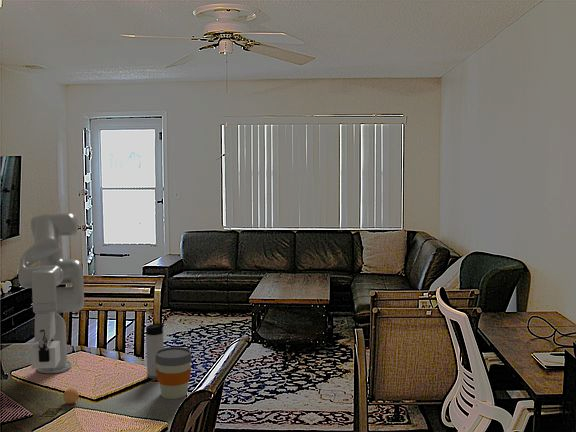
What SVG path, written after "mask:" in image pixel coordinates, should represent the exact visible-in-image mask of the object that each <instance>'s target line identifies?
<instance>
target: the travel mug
mask: <svg viewBox="0 0 576 432" xmlns="http://www.w3.org/2000/svg"><path fill="white" fill-rule="evenodd" d="M164 327H165V324H164V323H153V324H149V325H148V326H146V327H145V328H146V330H145V332H146V333H145V335H146V336H145V339H146V342H145V343H146V377H147V376H148V377H147V378H149V379H152V380H158V378H157V372H156V368H157V364H156V362H155V358H156V352H157V351H158V350H160V349H163V348H165V346H164V343H165V342H164Z"/></svg>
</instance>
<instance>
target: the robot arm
mask: <svg viewBox="0 0 576 432" xmlns="http://www.w3.org/2000/svg"><path fill="white" fill-rule="evenodd" d="M30 228H31V229H30V230H31V234H32V236H33V238H34V239H33V241H34V243H33V244H32V245H31V246H30V247H28V249H26V251H24V253H23V254H22V256H21V257H20V259H19V264H18V265H19V266H18V284H19V285H20V286H21V287H22V288H24V289H31V291H32V294H31V295H32V311H33V313H34V314H35V315H34V342H35V343H37V342H38V341H39V362H49V349H48V342H49V341H60V361H59V363H58V365H57V366H56V368H36V370H37V372H38V373H41V374H46V375H47V374H58V373H59V374H60V373H63V372H66V371H68V370H70V369H71V368H72V362H70V361H69V360H68V353H67V352H68V350H67V349H68V348H67V347H68V346H67V345H68V344H67V327H66V321H65V319H64V318H63V317H62V316H61V315H60V314H59V313H70V312H71V313H72V312H79V311H81V310H83V308H84V305H85V291H84V289H85V288H84V287H85V286H84V268H83V265H82V263H81V261H80V260H78V259H71V258H70V259H63V248H62V245H61V244H60V237H64V236H75V235H76V234H77V233H78V231H79V219H78V217H77V215H76V214H75V213H71V212H69V213H68V212H59V213H58V212H57V213H55V212H53V213H44V214H39V215H36V216H33V217H32V218H31V220H30ZM38 262H39V264H38V265H33V264H36V263H38ZM60 285H70V286H63V287H62V286H60ZM58 286H60V287H58ZM44 343H46V346H45V344H44Z"/></svg>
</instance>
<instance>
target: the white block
mask: <svg viewBox="0 0 576 432" xmlns="http://www.w3.org/2000/svg"><path fill="white" fill-rule="evenodd" d="M44 344H45V346H46V343H44ZM48 349H49V362H39V341H38V342H37V343H36V342H35V343H33V344H32V347H31V348H30V364H31V366H30V367H31V369H33V370H34V369H37V368H56V366H57V365H58V363H59V361H60V341H49V342H48Z"/></svg>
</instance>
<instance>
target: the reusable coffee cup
mask: <svg viewBox="0 0 576 432" xmlns="http://www.w3.org/2000/svg"><path fill="white" fill-rule="evenodd" d="M192 360H193V358H192V351H191V349H189V348H186V347H183V346H172V347H171V346H169V347H164V348H163V349H160V350H158V351H157V352H156V358H155V362H156V364H157V368H156V372H157V378H158V379H157V381H158V383H159V388H160V389H159V390H160V395H161V398H164V399H168V400H169V399H171V400H176V399H181V398H183V397H186V396H187V395H188V389H189V382H190V380H191V373H192V366H191V364H192Z"/></svg>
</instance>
